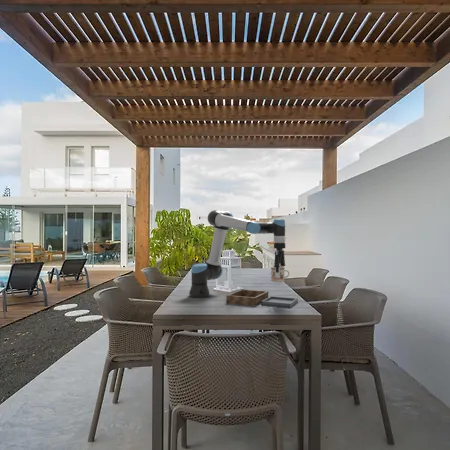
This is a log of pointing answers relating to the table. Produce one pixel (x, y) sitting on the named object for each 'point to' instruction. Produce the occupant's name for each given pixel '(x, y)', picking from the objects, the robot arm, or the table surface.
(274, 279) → the teacup with lid
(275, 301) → the tray
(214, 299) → the table surface
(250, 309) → the table surface
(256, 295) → the crate
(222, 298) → the table surface
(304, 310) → the table surface
